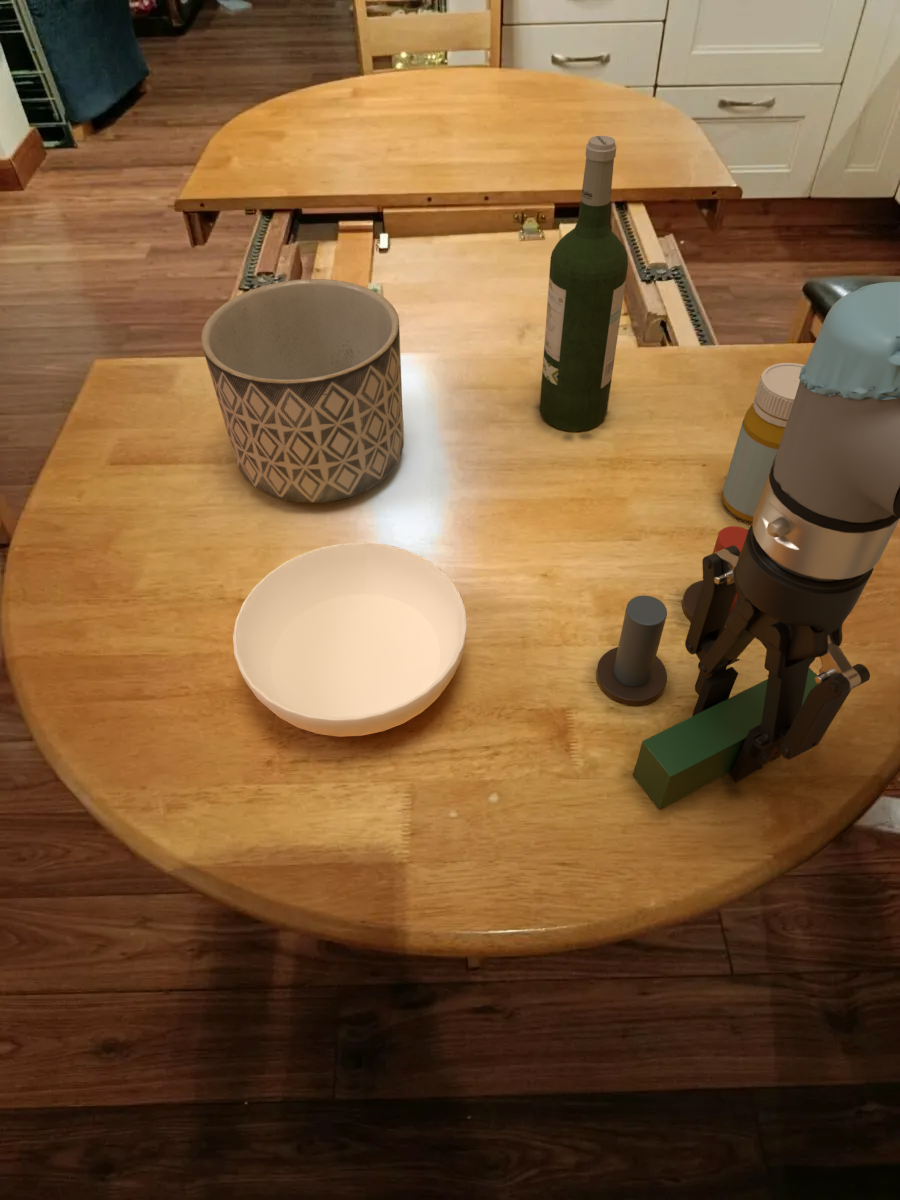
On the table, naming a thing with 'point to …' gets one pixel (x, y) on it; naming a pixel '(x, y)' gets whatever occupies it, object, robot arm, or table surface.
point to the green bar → (701, 746)
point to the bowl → (350, 638)
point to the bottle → (760, 439)
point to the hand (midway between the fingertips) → (724, 746)
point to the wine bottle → (584, 304)
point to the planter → (309, 387)
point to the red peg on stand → (691, 595)
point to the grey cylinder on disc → (636, 655)
